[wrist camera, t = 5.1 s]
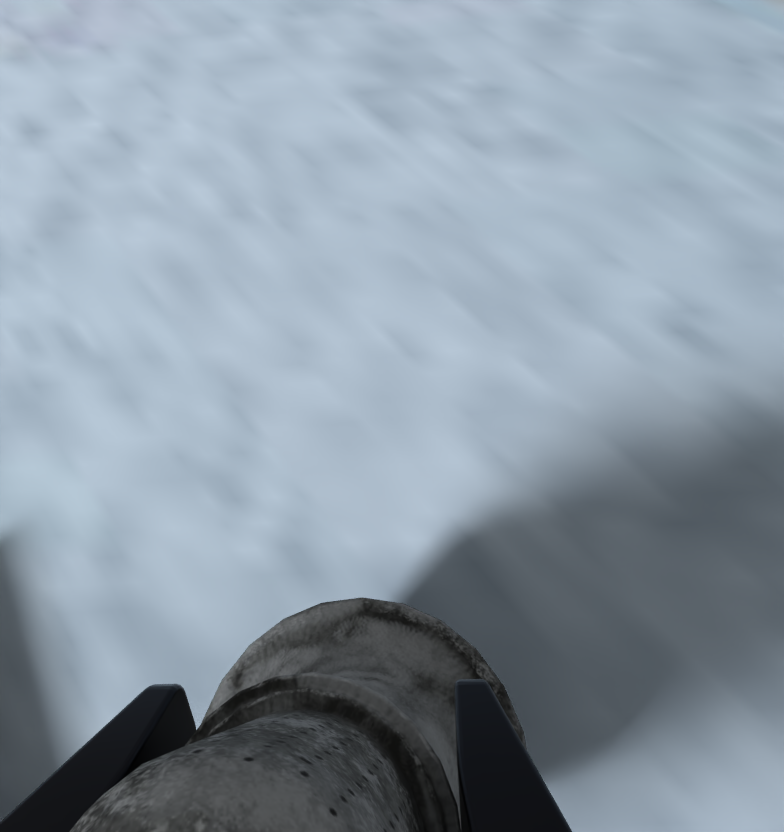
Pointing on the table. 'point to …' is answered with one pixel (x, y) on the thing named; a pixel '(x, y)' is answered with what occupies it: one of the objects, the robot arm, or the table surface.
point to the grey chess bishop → (318, 733)
